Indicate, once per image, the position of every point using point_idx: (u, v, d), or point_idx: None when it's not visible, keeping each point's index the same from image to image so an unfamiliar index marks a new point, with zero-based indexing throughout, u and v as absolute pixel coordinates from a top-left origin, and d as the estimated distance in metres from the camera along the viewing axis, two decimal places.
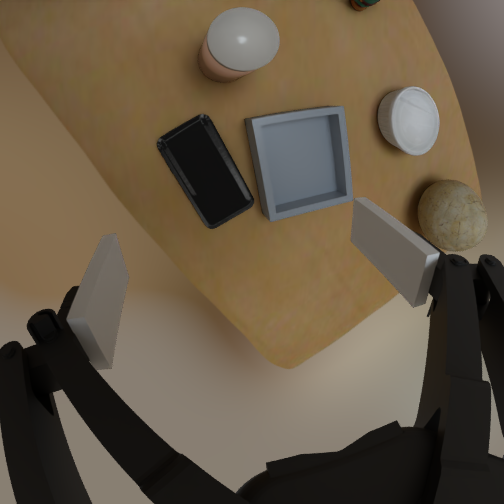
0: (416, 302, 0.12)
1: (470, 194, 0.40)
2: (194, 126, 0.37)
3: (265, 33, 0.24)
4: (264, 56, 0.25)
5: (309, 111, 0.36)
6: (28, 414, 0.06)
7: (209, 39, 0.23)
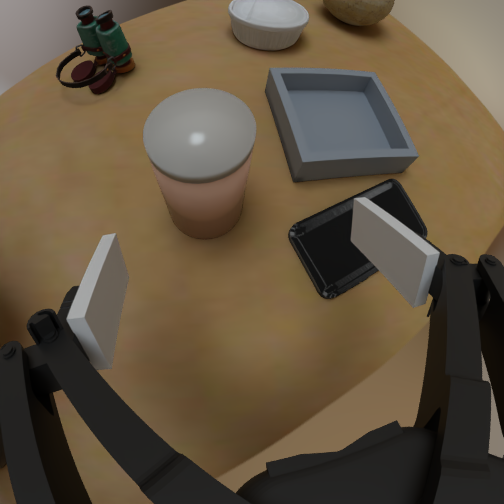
0: (416, 302, 0.12)
1: None
2: (306, 245, 0.28)
3: (192, 102, 0.18)
4: (231, 104, 0.18)
5: (283, 99, 0.29)
6: (28, 414, 0.06)
7: (199, 173, 0.17)
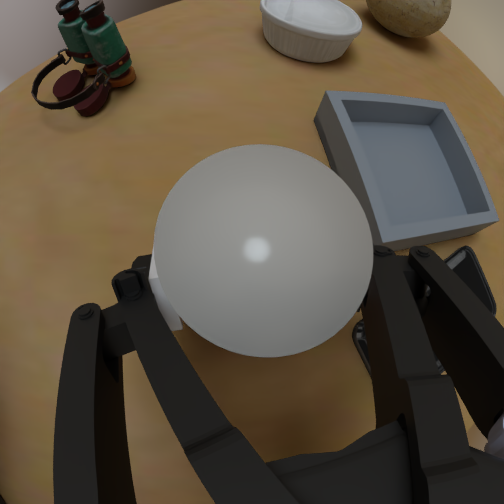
0: None
1: None
2: None
3: (249, 178, 0.10)
4: (324, 186, 0.10)
5: (350, 141, 0.20)
6: (92, 379, 0.07)
7: (279, 351, 0.08)
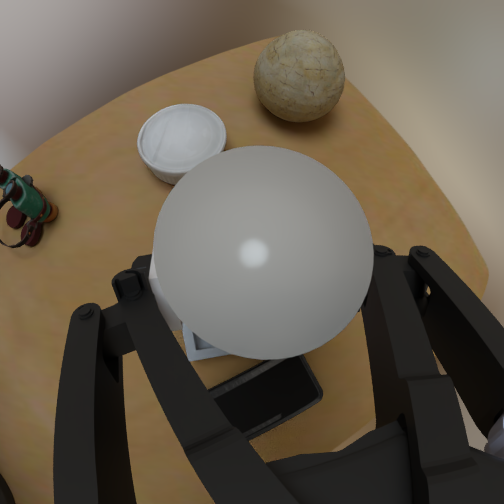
0: None
1: (266, 55, 0.33)
2: None
3: (249, 179, 0.10)
4: (324, 187, 0.10)
5: None
6: (92, 379, 0.07)
7: (279, 353, 0.08)
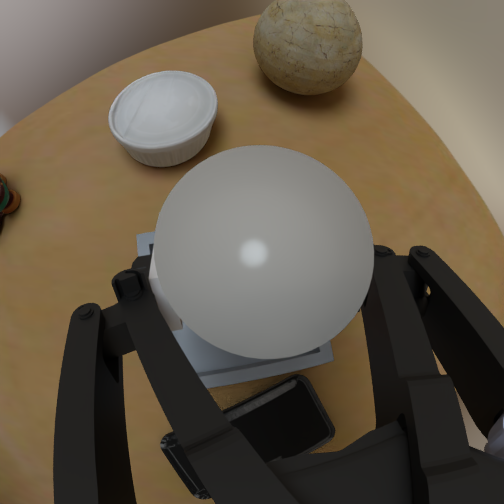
0: None
1: (268, 13, 0.25)
2: (178, 455, 0.23)
3: (249, 179, 0.10)
4: (325, 187, 0.10)
5: None
6: (92, 379, 0.07)
7: (279, 353, 0.08)
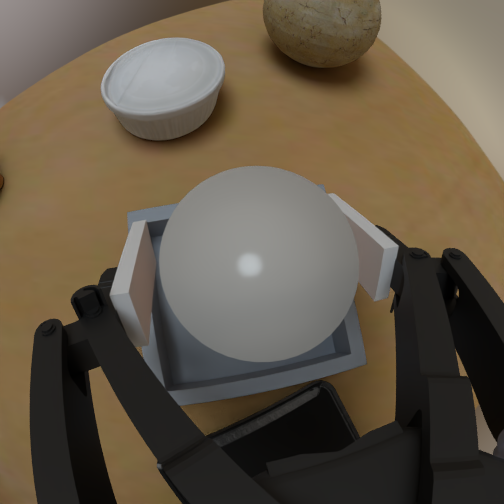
0: (378, 296, 0.13)
1: None
2: None
3: (245, 199, 0.11)
4: (315, 205, 0.11)
5: None
6: (61, 394, 0.06)
7: (271, 357, 0.10)
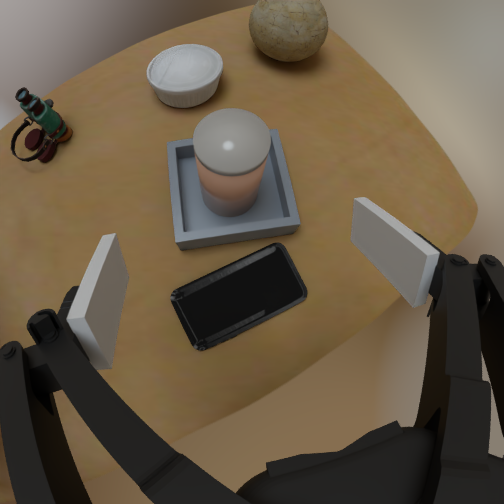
0: (416, 302, 0.12)
1: (258, 4, 0.35)
2: (183, 307, 0.35)
3: (226, 119, 0.27)
4: (253, 121, 0.27)
5: (171, 178, 0.34)
6: (28, 414, 0.06)
7: (233, 169, 0.25)
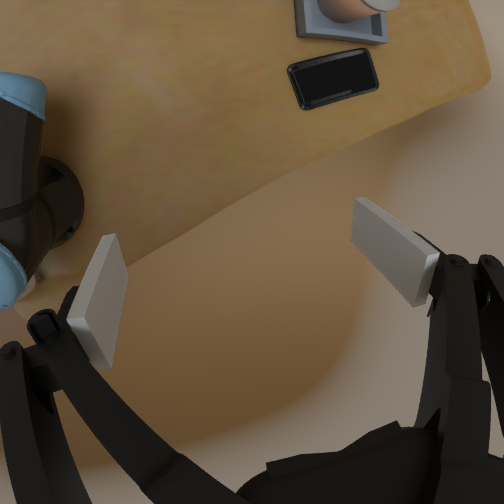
0: (416, 302, 0.12)
1: None
2: (297, 77, 0.40)
3: None
4: None
5: None
6: (28, 414, 0.06)
7: (379, 8, 0.26)
